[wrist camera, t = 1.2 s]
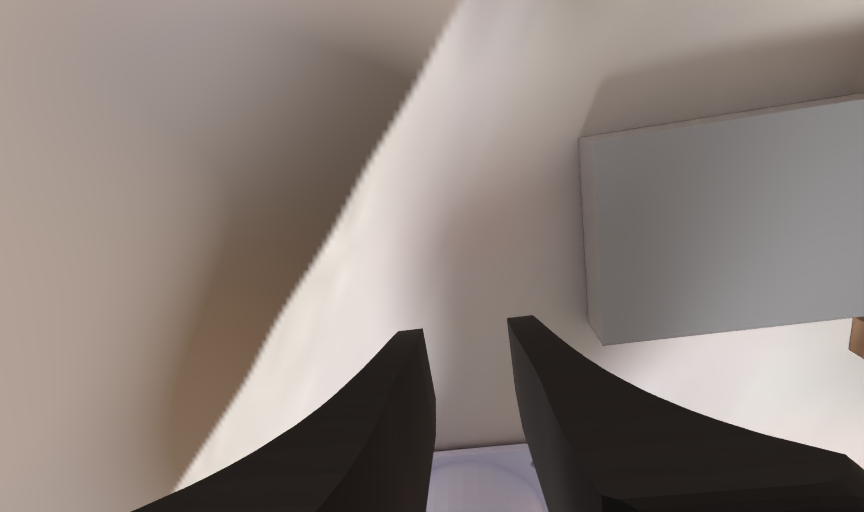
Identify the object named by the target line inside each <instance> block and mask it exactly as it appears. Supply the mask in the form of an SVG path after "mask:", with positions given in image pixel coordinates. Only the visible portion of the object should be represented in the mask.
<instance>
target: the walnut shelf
mask: <svg viewBox="0 0 864 512" xmlns="http://www.w3.org/2000/svg"><path fill="white" fill-rule="evenodd" d="M849 350H850V351H852V352H853V353H855V354H857V355H858V356H860V357H862V358H863V359H864V317H855V318H853V325H852V332H851V338H850V345H849Z"/></svg>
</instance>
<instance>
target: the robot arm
mask: <svg viewBox="0 0 864 512" xmlns="http://www.w3.org/2000/svg"><path fill="white" fill-rule="evenodd" d="M507 323H508V331H509V340H510V348H511V357H512V365H513V373H514V382H515V390H516V396H517V401H518V407H519V412H520V417H521V422H522V428H523V431H524V434H525V437H526V441H527V443H525V444H514V445H503V446H492V447H481V448H470V449H459V450H449V451H438V452H434V445H435V436H436V398H435V393H434V387H433V382H432V376H431V371H430V366H429V360H428V355H427V350H426V344H425V339H424V333H423V328H422V329H414V330H406V331H398V332H397V333H396V334H395V335H394V336H393V337H392V338H391V339H390V340H389V341H388V342H387V343H386V345H385V346H384V347H383V348H382V349H381V350H380V351H379V352H378V353H377V354H376V355H375V356H374V357H373V358H372V359H371V360H370V361H369V363H368V364H367V365H366V366H365V367H364V368H363V369H362V370H361V371H360V372H359V373H358V374H357V375H356V376H354V377H353V378H352V379H351V380H350V381H349V382H348V383H347V384H346V385H345V386H344V387H343V388H341V389H340V390H339V391H338V392H337V393H336V394H335V395H334V396H333V397H332V398H330V399H329V400H328V401H327V402H326V403H324V404H323V405H322V406H321V407H319V408H318V409H317V410H315V411H314V412H313V413H311V414H310V415H309V416H307V417H306V418H305V419H303V420H302V421H301V422H299V423H298V424H297V425H295V426H294V427H292V428H291V429H289V430H287V431H286V432H284V433H283V434H281V435H280V436H278V437H277V438H275V439H273V440H272V441H270V442H269V443H267V444H266V445H264V446H262V447H261V448H259V449H258V450H256V451H254V452H253V453H251V454H249V455H248V456H246V457H244V458H242V459H240V460H239V461H237V462H235V463H233V464H231V465H230V466H228V467H226V468H224V469H222V470H220V471H218V472H216V473H214V474H212V475H210V476H208V477H206V478H205V479H202V480H200V481H198V482H196V483H194V484H192V485H190V486H188V487H186V488H184V489H181V490H179V491H177V492H175V493H172V494H170V495H168V496H166V497H163V498H161V499H159V500H157V501H154V502H152V503H150V504H148V505H145V506H143V507H141V508H139V509H136V510H134V511H131V512H864V469H862V468H861V467H860V466H859V465H858V464H856V463H855V462H854V461H853V460H851V459H850V458H849V457H848V456H847V455H845V454H841V453H837V452H833V451H829V450H825V449H821V448H817V447H813V446H809V445H805V444H801V443H797V442H793V441H789V440H784V439H780V438H776V437H772V436H768V435H765V434H761V433H758V432H754V431H751V430H748V429H745V428H742V427H738V426H735V425H732V424H729V423H726V422H723V421H719V420H716V419H713V418H711V417H708V416H705V415H702V414H699V413H697V412H694V411H691V410H689V409H686V408H684V407H681V406H679V405H676V404H674V403H671V402H669V401H667V400H664V399H662V398H659V397H657V396H655V395H653V394H651V393H648V392H646V391H644V390H642V389H640V388H638V387H636V386H634V385H632V384H630V383H628V382H626V381H624V380H623V379H621V378H619V377H617V376H615V375H613V374H612V373H610V372H608V371H606V370H605V369H603V368H601V367H600V366H598V365H597V364H595V363H594V362H592V361H591V360H589V359H587V358H586V357H584V356H583V355H582V354H580V353H579V352H577V351H576V350H575V349H573V348H572V347H571V346H569V345H568V344H567V343H565V342H564V341H563V340H562V339H560V338H559V337H558V336H557V335H555V334H554V333H553V332H552V331H551V330H550V329H548V328H547V327H546V326H545V325H544V324H543V323H541V322H540V321H539V320H538V319H537V318H535V317H534V316H533V315H530V316H522V317H514V318H507ZM532 461H533V462H532Z"/></svg>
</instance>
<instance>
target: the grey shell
mask: <svg viewBox="0 0 864 512" xmlns="http://www.w3.org/2000/svg"><path fill="white" fill-rule="evenodd" d="M578 142H579V160H580V178H581V196H582V214H583V232H584V250H585V268H586V286H587V304H588V322H589V324H590V326H591V327H592V329H593V331H594V332H595V334H596V335H597V337H598V339H599V340H600V342H601V343H602V345H603V346H604V345H613V344H622V343H631V342H640V341H649V340H658V339H667V338H676V337H685V336H694V335H703V334H712V333H721V332H730V331H738V330H747V329H756V328H765V327H774V326H783V325H792V324H801V323H810V322H819V321H828V320H837V319H846V318H855V317H864V93H858V94H852V95H846V96H839V97H833V98H827V99H820V100H814V101H808V102H801V103H795V104H789V105H782V106H776V107H770V108H763V109H757V110H751V111H744V112H738V113H732V114H726V115H719V116H713V117H707V118H700V119H694V120H688V121H681V122H675V123H669V124H662V125H656V126H650V127H643V128H637V129H631V130H624V131H618V132H612V133H605V134H599V135H593V136H586V137H580V138H578Z"/></svg>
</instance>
